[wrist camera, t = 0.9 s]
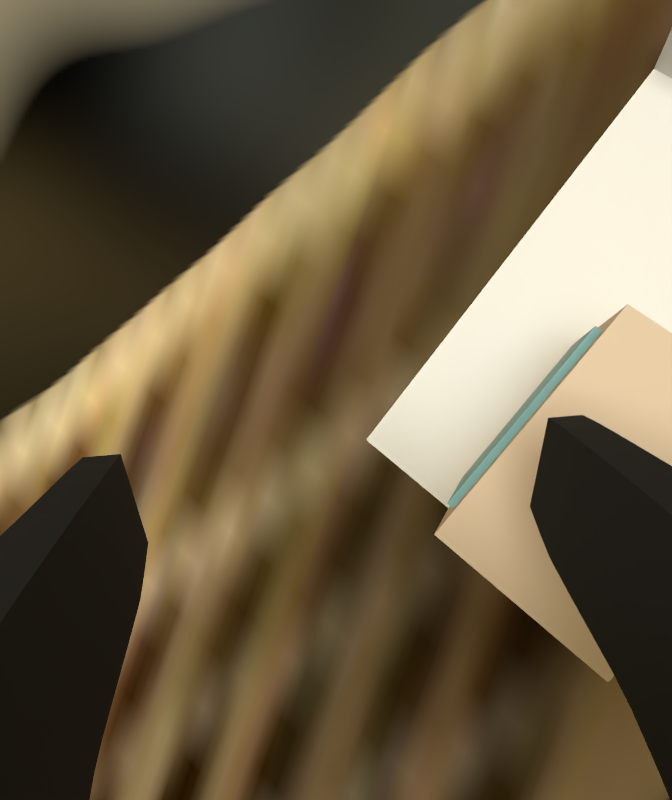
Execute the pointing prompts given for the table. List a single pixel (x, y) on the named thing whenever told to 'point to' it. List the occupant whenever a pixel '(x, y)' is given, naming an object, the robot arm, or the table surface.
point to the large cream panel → (548, 295)
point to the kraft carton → (519, 457)
